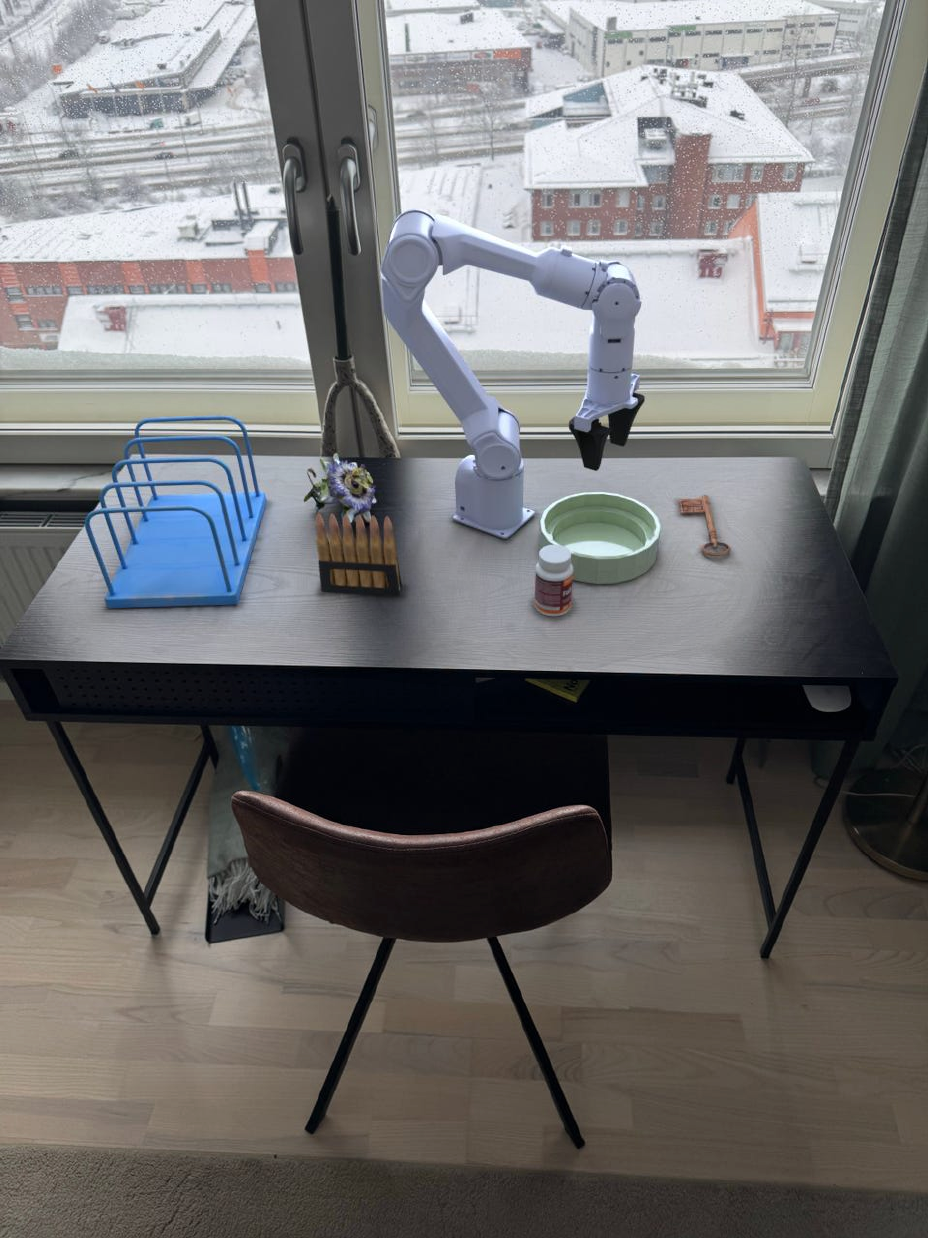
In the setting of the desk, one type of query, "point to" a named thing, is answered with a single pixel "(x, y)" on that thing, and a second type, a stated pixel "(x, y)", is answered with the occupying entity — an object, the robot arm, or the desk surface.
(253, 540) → the file sorter
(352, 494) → the passion flower
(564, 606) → the pill bottle
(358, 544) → the ammunition clip
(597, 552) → the bowl
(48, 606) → the desk surface
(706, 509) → the key
